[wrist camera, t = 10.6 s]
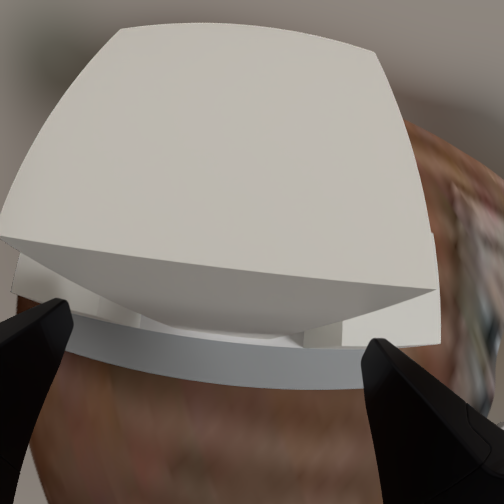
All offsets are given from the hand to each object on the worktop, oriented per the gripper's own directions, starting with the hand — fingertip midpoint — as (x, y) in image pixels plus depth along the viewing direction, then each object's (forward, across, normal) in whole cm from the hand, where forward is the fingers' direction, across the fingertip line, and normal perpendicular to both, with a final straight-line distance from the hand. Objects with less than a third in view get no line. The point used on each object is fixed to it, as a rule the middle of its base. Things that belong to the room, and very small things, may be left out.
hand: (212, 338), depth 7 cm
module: (+7, 0, +3) cm, 8 cm away
